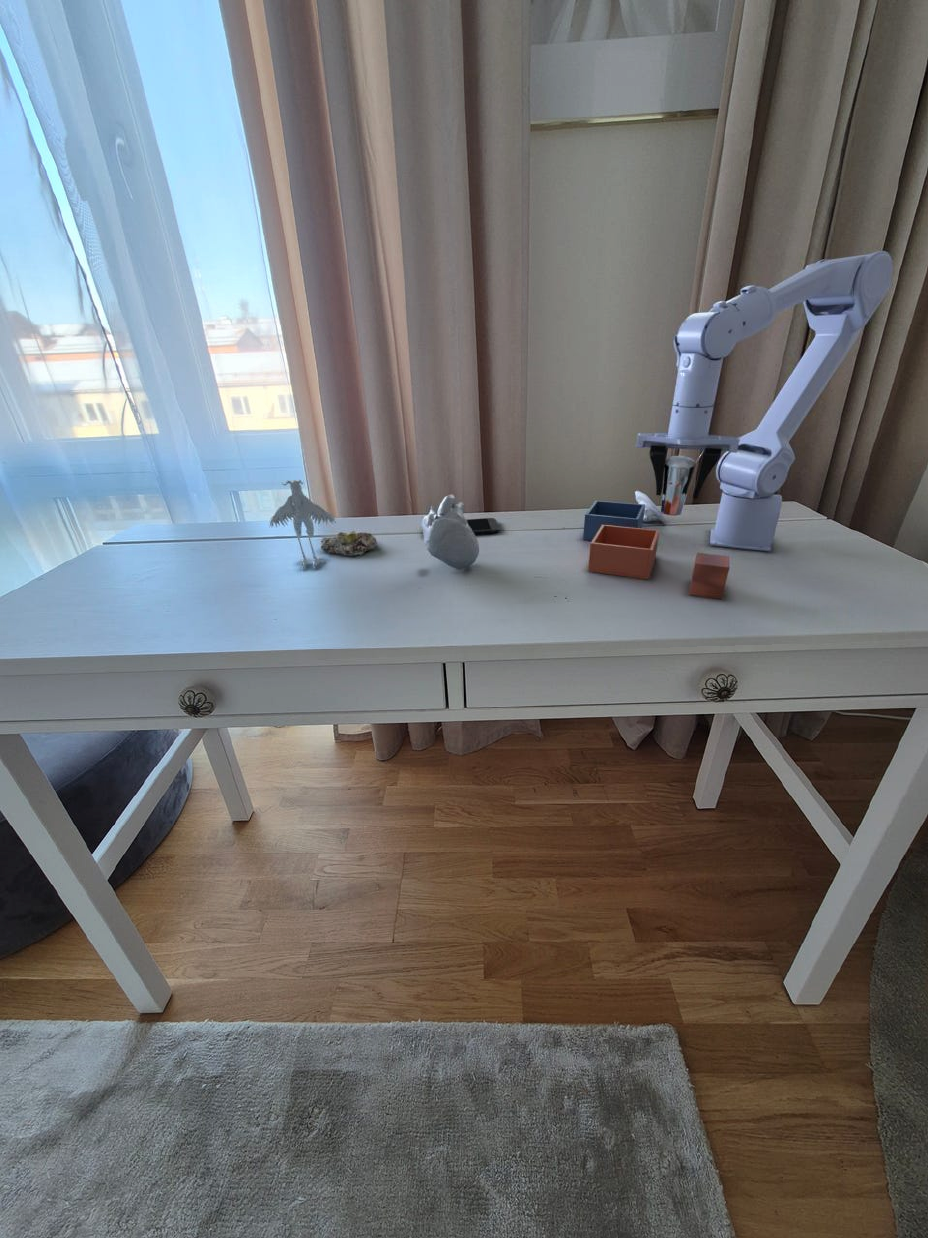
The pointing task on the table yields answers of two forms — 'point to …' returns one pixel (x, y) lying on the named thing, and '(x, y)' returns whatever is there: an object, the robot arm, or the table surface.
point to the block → (709, 575)
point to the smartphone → (483, 525)
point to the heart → (450, 534)
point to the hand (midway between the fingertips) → (676, 495)
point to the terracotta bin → (623, 551)
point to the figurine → (301, 515)
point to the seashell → (649, 507)
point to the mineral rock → (349, 543)
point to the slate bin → (612, 516)
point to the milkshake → (676, 483)
